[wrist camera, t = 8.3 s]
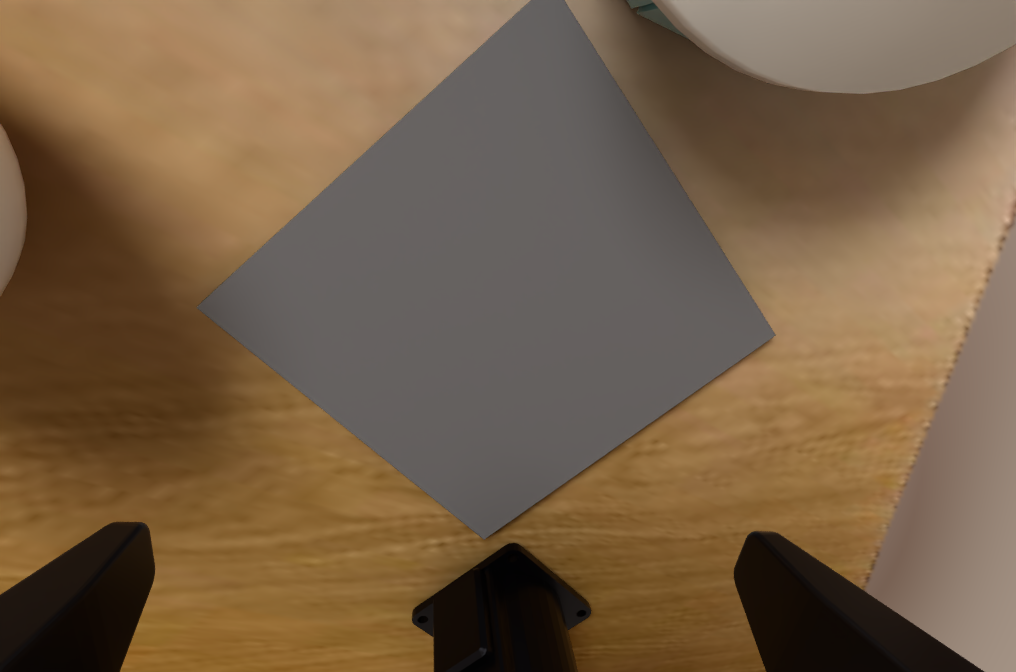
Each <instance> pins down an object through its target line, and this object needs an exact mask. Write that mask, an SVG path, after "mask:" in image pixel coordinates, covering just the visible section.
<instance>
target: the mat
mask: <svg viewBox="0 0 1016 672" xmlns="http://www.w3.org/2000/svg"><path fill="white" fill-rule="evenodd" d="M197 309H199V310H200V311H201V312H202V313H204V314H205V315H206V316H207V317H209V318H210V319H211V320H212V321H214V322H215V323H216V324H217V325H219V326H220V327H221V328H222V329H224V330H225V331H226V332H227V333H228V334H230V335H231V336H232V337H233V338H235V339H236V340H237V341H238V342H240V343H241V344H242V345H243V346H245V347H246V348H247V349H248V350H250V351H251V352H252V353H253V354H255V355H256V356H257V357H258V358H259V359H261V360H262V361H263V362H264V363H266V364H267V365H268V366H269V367H271V368H272V369H273V370H274V371H276V372H277V373H278V374H279V375H281V376H282V377H283V378H284V379H286V380H287V381H288V382H289V383H290V384H292V385H293V386H294V387H295V388H297V389H298V390H299V391H300V392H302V393H303V394H304V395H305V396H307V397H308V398H309V399H310V400H312V401H313V402H314V403H315V404H317V405H318V406H319V407H320V408H322V409H323V410H324V411H325V412H326V413H328V414H329V415H330V416H331V417H333V418H334V419H335V420H336V421H338V422H339V423H340V424H341V425H343V426H344V427H345V428H346V429H348V430H349V431H350V432H351V433H353V434H354V435H355V436H356V437H357V438H359V439H360V440H361V441H362V442H364V443H365V444H366V445H367V446H369V447H370V448H371V449H372V450H374V451H375V452H376V453H377V454H379V455H380V456H381V457H382V458H384V459H385V460H386V461H387V462H389V463H390V464H391V465H392V466H393V467H395V468H396V469H397V470H398V471H400V472H401V473H402V474H403V475H405V476H406V477H407V478H408V479H410V480H411V481H412V482H413V483H415V484H416V485H417V486H418V487H420V488H421V489H422V490H423V491H424V492H426V493H427V494H428V495H429V496H431V497H432V498H433V499H434V500H436V501H437V502H438V503H439V504H441V505H442V506H443V507H444V508H446V509H447V510H448V511H449V512H451V513H452V514H453V515H454V516H456V517H457V518H458V519H459V520H460V521H462V522H463V523H464V524H465V525H467V526H468V527H469V528H470V529H472V530H473V531H474V532H475V533H477V534H478V535H479V536H480V537H482V538H483V539H486V538H487V537H488V536H490V535H491V534H493V533H494V532H496V531H497V530H498V529H500V528H501V527H503V526H504V525H506V524H507V523H508V522H510V521H511V520H513V519H514V518H516V517H517V516H518V515H520V514H521V513H523V512H524V511H526V510H527V509H528V508H530V507H531V506H533V505H534V504H536V503H537V502H538V501H540V500H541V499H543V498H544V497H546V496H547V495H548V494H550V493H551V492H553V491H554V490H556V489H557V488H558V487H560V486H561V485H563V484H564V483H566V482H567V481H568V480H570V479H571V478H573V477H574V476H576V475H577V474H578V473H580V472H581V471H583V470H584V469H586V468H587V467H588V466H590V465H591V464H593V463H594V462H596V461H597V460H598V459H600V458H601V457H603V456H604V455H606V454H607V453H608V452H610V451H611V450H613V449H614V448H616V447H617V446H618V445H620V444H621V443H623V442H624V441H626V440H627V439H628V438H630V437H631V436H633V435H634V434H636V433H637V432H638V431H640V430H641V429H643V428H644V427H646V426H647V425H648V424H650V423H651V422H653V421H654V420H656V419H657V418H658V417H660V416H661V415H663V414H664V413H666V412H667V411H668V410H670V409H671V408H673V407H674V406H676V405H677V404H678V403H680V402H681V401H683V400H684V399H686V398H687V397H688V396H690V395H691V394H693V393H694V392H696V391H697V390H698V389H700V388H701V387H703V386H704V385H706V384H707V383H708V382H710V381H711V380H713V379H714V378H716V377H717V376H718V375H720V374H721V373H723V372H724V371H726V370H727V369H728V368H730V367H731V366H733V365H734V364H736V363H737V362H738V361H740V360H741V359H743V358H744V357H746V356H747V355H748V354H750V353H751V352H753V351H754V350H756V349H757V348H758V347H760V346H761V345H763V344H764V343H766V342H767V341H768V340H770V339H771V338H773V337H774V336H776V335H775V333H774V332H773V330H772V328H771V327H770V325H769V324H768V322H767V321H766V319H765V317H764V316H763V314H762V313H761V311H760V309H759V308H758V306H757V305H756V303H755V302H754V300H753V298H752V297H751V295H750V294H749V292H748V290H747V289H746V287H745V286H744V284H743V283H742V281H741V279H740V278H739V276H738V275H737V273H736V271H735V270H734V268H733V267H732V265H731V264H730V262H729V260H728V259H727V257H726V256H725V254H724V252H723V251H722V249H721V248H720V246H719V245H718V243H717V241H716V240H715V238H714V237H713V235H712V233H711V232H710V230H709V229H708V227H707V226H706V224H705V222H704V221H703V219H702V218H701V216H700V214H699V213H698V211H697V210H696V208H695V207H694V205H693V203H692V202H691V200H690V199H689V197H688V195H687V194H686V192H685V191H684V189H683V188H682V186H681V184H680V183H679V181H678V180H677V178H676V176H675V175H674V173H673V172H672V170H671V169H670V167H669V165H668V164H667V162H666V161H665V159H664V157H663V156H662V154H661V153H660V151H659V150H658V148H657V146H656V145H655V143H654V142H653V140H652V138H651V137H650V135H649V134H648V132H647V131H646V129H645V127H644V126H643V124H642V123H641V121H640V119H639V118H638V116H637V115H636V113H635V112H634V110H633V108H632V107H631V105H630V104H629V102H628V100H627V99H626V97H625V96H624V94H623V93H622V91H621V89H620V88H619V86H618V85H617V83H616V81H615V80H614V78H613V77H612V75H611V74H610V72H609V70H608V69H607V67H606V66H605V64H604V62H603V61H602V59H601V58H600V56H599V55H598V53H597V51H596V50H595V48H594V47H593V45H592V43H591V42H590V40H589V39H588V37H587V36H586V34H585V32H584V31H583V29H582V28H581V26H580V24H579V23H578V21H577V20H576V18H575V17H574V15H573V13H572V12H571V10H570V9H569V7H568V5H567V4H566V2H565V1H564V0H531V1H530V2H528V3H527V4H526V5H525V6H524V7H523V8H522V9H521V10H520V11H519V12H518V13H516V14H515V15H514V16H513V17H512V18H511V19H510V20H509V21H508V22H507V23H506V24H504V25H503V26H502V27H501V28H500V29H499V30H498V31H497V32H496V33H495V34H494V35H492V36H491V37H490V38H489V39H488V40H487V41H486V42H485V43H484V44H483V45H482V46H480V47H479V48H478V49H477V50H476V51H475V52H474V53H473V54H472V55H471V56H470V57H468V58H467V59H466V60H465V61H464V62H463V63H462V64H461V65H460V66H459V67H458V68H456V69H455V70H454V71H453V72H452V73H451V74H450V75H449V76H448V77H447V78H446V79H444V80H443V81H442V82H441V83H440V84H439V85H438V86H437V87H436V88H435V89H434V90H432V91H431V92H430V93H429V94H428V95H427V96H426V97H425V98H424V99H423V100H422V101H420V102H419V103H418V104H417V105H416V106H415V107H414V108H413V109H412V110H411V111H410V112H408V113H407V114H406V115H405V116H404V117H403V118H402V119H401V120H400V121H399V122H398V123H396V124H395V125H394V126H393V127H392V128H391V129H390V130H389V131H388V132H387V133H386V134H384V135H383V136H382V137H381V138H380V139H379V140H378V141H377V142H376V143H375V144H374V145H372V146H371V147H370V148H369V149H368V150H367V151H366V152H365V153H364V154H363V155H362V156H360V157H359V158H358V159H357V160H356V161H355V162H354V163H353V164H352V165H351V166H350V167H348V168H347V169H346V170H345V171H344V172H343V173H342V174H341V175H340V176H339V177H338V178H336V179H335V180H334V181H333V182H332V183H331V184H330V185H329V186H328V187H327V188H326V189H324V190H323V191H322V192H321V193H320V194H319V195H318V196H317V197H316V198H315V199H314V200H312V201H311V202H310V203H309V204H308V205H307V206H306V207H305V208H304V209H303V210H302V211H300V212H299V213H298V214H297V215H296V216H295V217H294V218H293V219H292V220H291V221H290V222H288V223H287V224H286V225H285V226H284V227H283V228H282V229H281V230H280V231H279V232H278V233H276V234H275V235H274V236H273V237H272V238H271V239H270V240H269V241H268V242H267V243H266V244H264V245H263V246H262V247H261V248H260V249H259V250H258V251H257V252H256V253H255V254H254V255H252V256H251V257H250V258H249V259H248V260H247V261H246V262H245V263H244V264H243V265H242V266H240V267H239V268H238V269H237V270H236V271H235V272H234V273H233V274H232V275H231V276H230V277H228V278H227V279H226V280H225V281H224V282H223V283H222V284H221V285H220V286H219V287H218V288H216V289H215V290H214V291H213V292H212V293H211V294H210V295H209V296H208V297H207V298H206V299H204V300H203V301H202V302H201V303H200V304H199V305H198V307H197Z"/></svg>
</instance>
